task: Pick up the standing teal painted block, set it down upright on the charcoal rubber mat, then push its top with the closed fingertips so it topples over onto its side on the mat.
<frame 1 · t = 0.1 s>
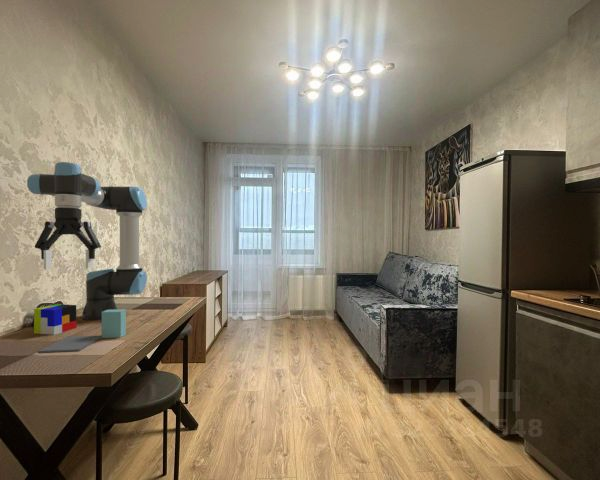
hand: (68, 268, 111), 28 cm above the table, fingers open, 13 cm apart
rubber mat: (73, 344, 115), on the table
teal block: (114, 335, 125), on the table
puzzle toy: (55, 331, 133), on the table
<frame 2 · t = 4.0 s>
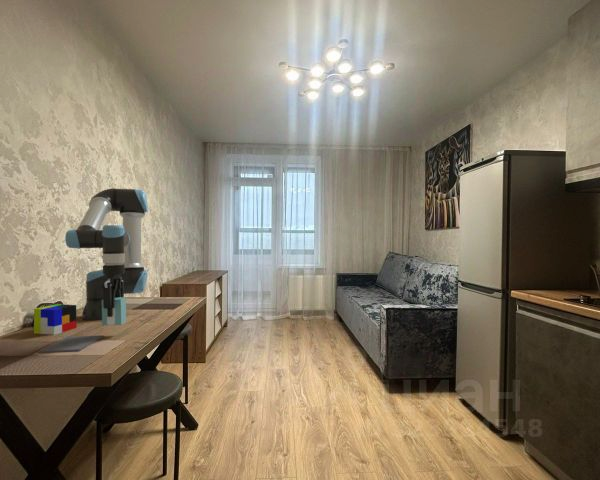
hand: (114, 322, 126), 5 cm above the table, fingers closed on teal block, 4 cm apart
teal block: (114, 323, 126), point 5 cm above the table, touching gripper
everything else where it was.
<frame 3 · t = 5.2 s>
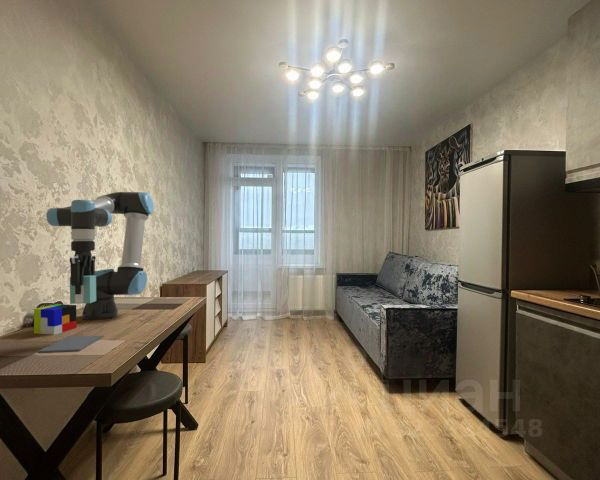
hand: (83, 301, 121), 14 cm above the table, fingers closed on teal block, 4 cm apart
teal block: (83, 302, 121), point 14 cm above the table, touching gripper
everything else where it was.
when the fingers open (2 cm above the table, at t = 6.8 s): teal block stays where it is, resting on rubber mat.
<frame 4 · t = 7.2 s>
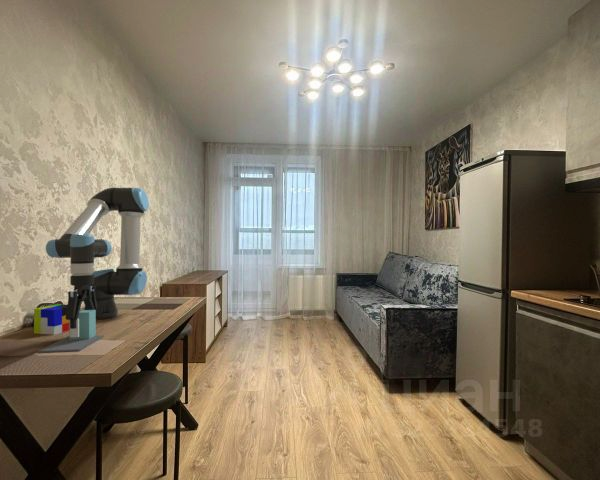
hand: (82, 332, 121), 2 cm above the table, fingers open, 9 cm apart
teal block: (82, 337, 121), point 1 cm above the table, touching rubber mat
everything else where it was.
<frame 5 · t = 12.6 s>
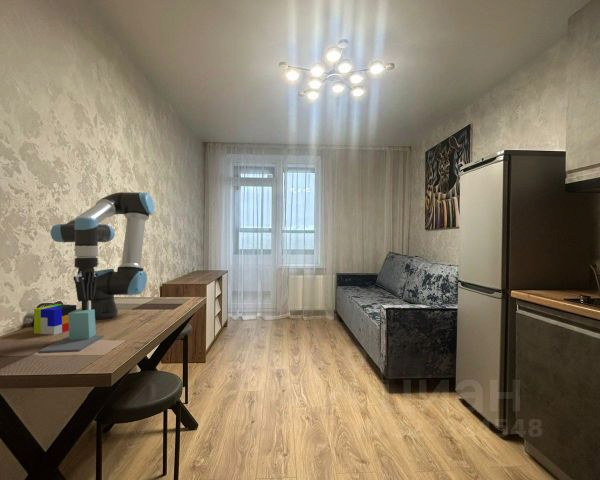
hand: (86, 317, 124), 8 cm above the table, fingers closed
teal block: (82, 337, 121), point 1 cm above the table, touching gripper, rubber mat
everything else where it was.
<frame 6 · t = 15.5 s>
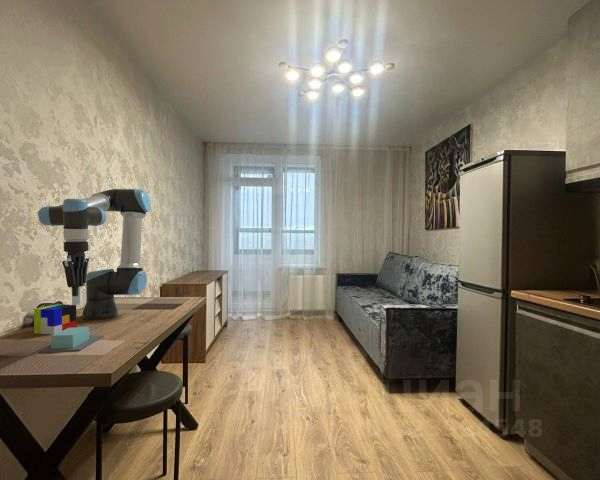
hand: (77, 304, 118), 14 cm above the table, fingers closed
teal block: (79, 333, 119), point 3 cm above the table, tilted 90°, touching rubber mat
everything else where it was.
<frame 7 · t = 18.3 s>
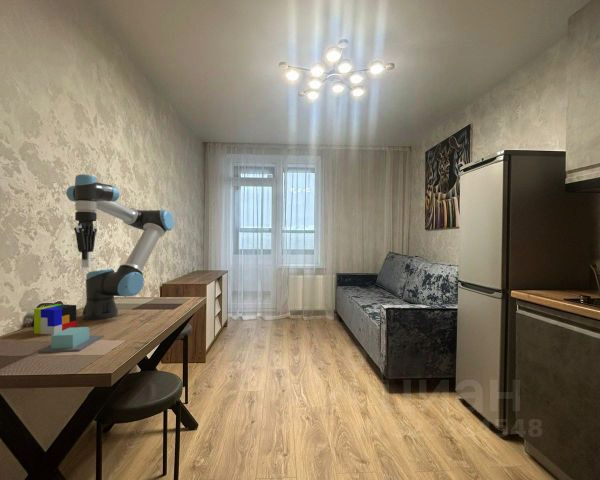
hand: (86, 267, 135), 26 cm above the table, fingers closed
nothing on the table moved.
at the end: teal block tilted 90°; teal block inside the target area (4.3 cm from its centre), point 2.8 cm above the table; the gripper is holding nothing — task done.
